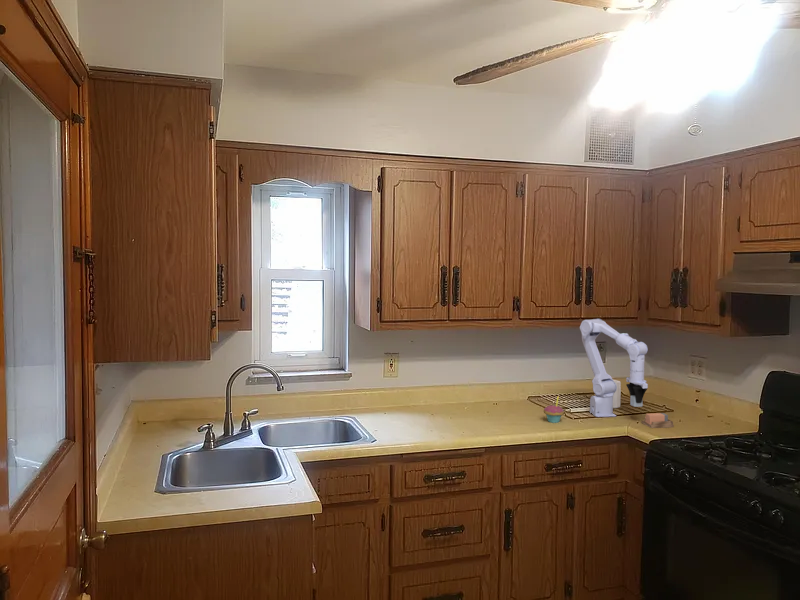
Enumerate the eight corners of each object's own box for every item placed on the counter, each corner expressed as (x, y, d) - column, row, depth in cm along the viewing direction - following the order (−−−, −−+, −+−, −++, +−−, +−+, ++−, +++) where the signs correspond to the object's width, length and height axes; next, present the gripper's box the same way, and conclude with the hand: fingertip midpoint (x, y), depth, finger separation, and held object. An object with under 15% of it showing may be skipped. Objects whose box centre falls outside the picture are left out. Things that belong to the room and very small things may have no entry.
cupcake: (563, 419, 261) (564, 392, 260) (563, 424, 253) (564, 397, 252) (543, 418, 263) (544, 391, 262) (543, 423, 255) (543, 395, 254)
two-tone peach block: (649, 424, 250) (650, 415, 249) (645, 421, 253) (645, 413, 253) (667, 423, 250) (668, 415, 250) (663, 421, 254) (663, 413, 254)
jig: (651, 428, 247) (651, 422, 247) (641, 422, 255) (641, 417, 255) (673, 427, 248) (673, 422, 248) (663, 422, 256) (663, 417, 256)
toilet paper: (597, 407, 282) (598, 382, 282) (598, 402, 292) (598, 378, 291) (620, 409, 279) (620, 383, 278) (620, 404, 289) (620, 379, 288)
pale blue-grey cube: (634, 406, 252) (634, 397, 252) (630, 404, 256) (630, 395, 256) (642, 406, 253) (642, 397, 252) (638, 404, 256) (638, 395, 256)
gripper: (654, 373, 246) (654, 405, 247) (637, 367, 261) (636, 397, 262) (638, 373, 246) (638, 405, 247) (622, 367, 260) (621, 397, 261)
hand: (636, 401), depth 254 cm, fingers closed on pale blue-grey cube, 4 cm apart
